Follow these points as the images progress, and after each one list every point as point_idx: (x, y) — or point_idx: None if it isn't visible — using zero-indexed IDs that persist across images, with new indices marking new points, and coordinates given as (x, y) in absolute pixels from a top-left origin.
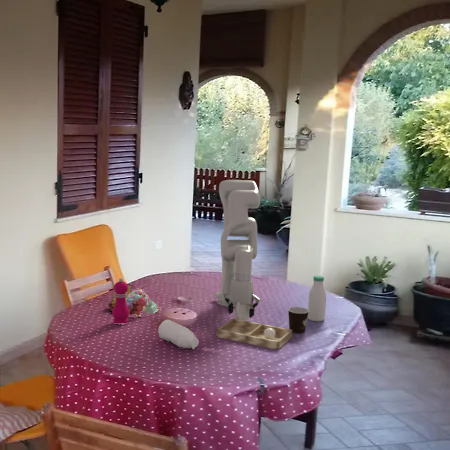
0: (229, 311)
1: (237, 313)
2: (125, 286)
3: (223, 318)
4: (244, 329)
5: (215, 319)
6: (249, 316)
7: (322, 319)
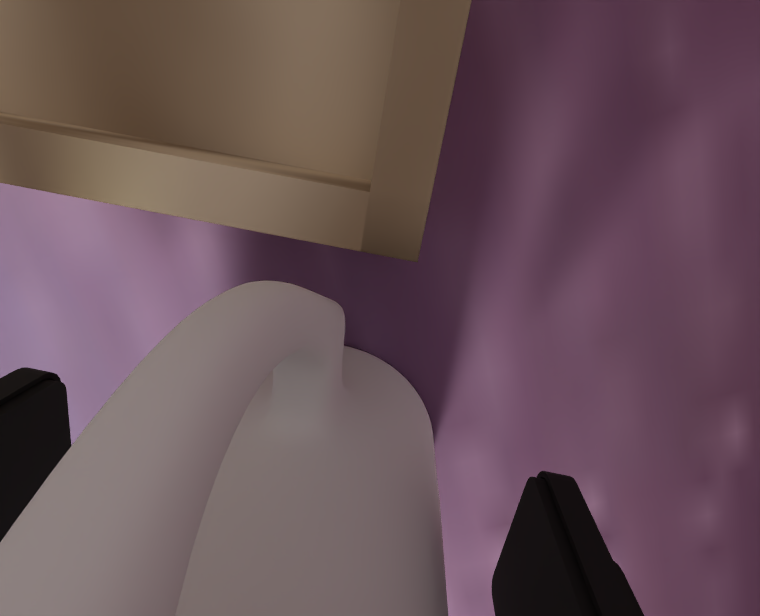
0: (577, 516)
1: (252, 285)
2: None
3: (628, 524)
4: (148, 70)
5: (756, 459)
6: (31, 380)
7: None
